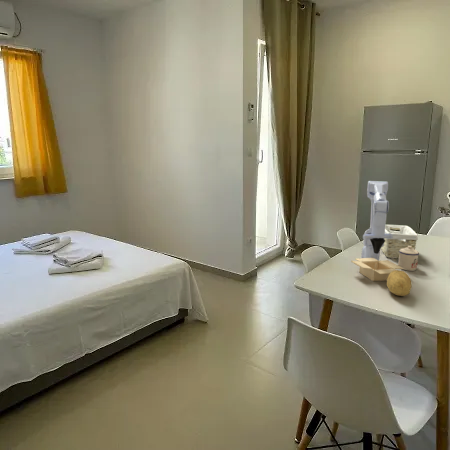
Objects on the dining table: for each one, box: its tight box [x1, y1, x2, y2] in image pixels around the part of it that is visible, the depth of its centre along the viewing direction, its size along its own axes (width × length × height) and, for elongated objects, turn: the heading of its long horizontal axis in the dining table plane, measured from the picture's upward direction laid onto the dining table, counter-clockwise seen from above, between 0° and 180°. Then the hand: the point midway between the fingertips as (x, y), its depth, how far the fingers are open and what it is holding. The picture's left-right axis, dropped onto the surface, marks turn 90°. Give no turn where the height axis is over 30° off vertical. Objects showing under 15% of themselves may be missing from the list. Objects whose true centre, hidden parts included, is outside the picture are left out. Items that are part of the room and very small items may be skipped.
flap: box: [351, 260, 372, 270], centre depth 172 cm, size 10×5×1 cm, turn 10°
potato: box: [386, 269, 413, 297], centre depth 153 cm, size 10×14×10 cm
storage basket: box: [380, 224, 419, 259], centre depth 211 cm, size 24×16×15 cm
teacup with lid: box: [397, 246, 420, 271], centre depth 187 cm, size 12×9×12 cm
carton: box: [354, 257, 403, 282], centre depth 175 cm, size 22×15×8 cm
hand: (376, 253), depth 177 cm, fingers closed
